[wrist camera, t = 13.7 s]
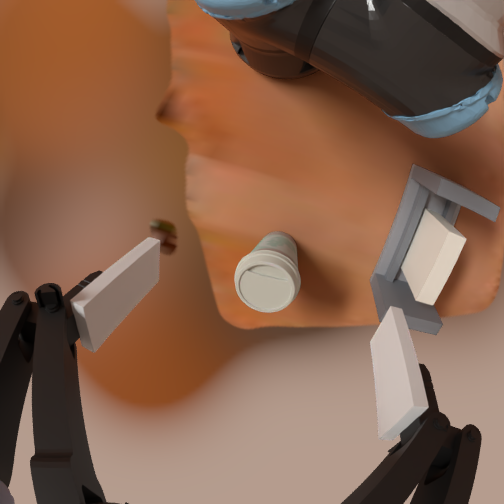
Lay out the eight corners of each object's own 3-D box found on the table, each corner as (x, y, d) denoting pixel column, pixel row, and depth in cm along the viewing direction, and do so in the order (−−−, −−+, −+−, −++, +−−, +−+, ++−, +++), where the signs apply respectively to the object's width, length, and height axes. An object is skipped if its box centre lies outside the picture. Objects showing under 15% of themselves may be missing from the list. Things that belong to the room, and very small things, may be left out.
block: (423, 207, 36) (449, 231, 27) (438, 213, 36) (466, 238, 27) (399, 264, 41) (415, 300, 32) (414, 269, 40) (432, 305, 32)
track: (412, 163, 35) (441, 177, 25) (464, 186, 34) (500, 207, 24) (369, 280, 44) (379, 321, 34) (418, 294, 43) (436, 335, 33)
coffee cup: (316, 249, 44) (314, 291, 34) (279, 281, 48) (266, 326, 37) (277, 211, 43) (262, 242, 32) (241, 246, 47) (217, 285, 36)
